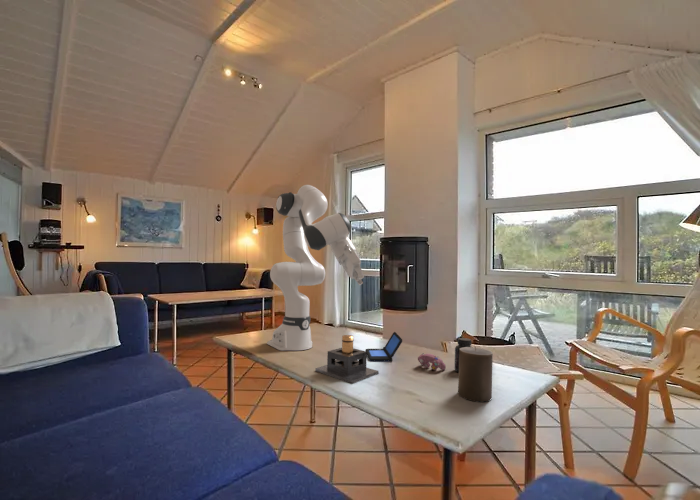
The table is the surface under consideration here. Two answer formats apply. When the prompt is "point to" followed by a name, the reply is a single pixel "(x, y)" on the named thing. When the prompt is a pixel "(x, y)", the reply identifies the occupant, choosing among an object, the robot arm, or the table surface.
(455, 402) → the table surface
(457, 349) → the supplement bottle
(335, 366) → the collar stand
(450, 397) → the table surface
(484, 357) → the pillar candle
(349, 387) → the table surface
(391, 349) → the handheld game console
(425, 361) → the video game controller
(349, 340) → the gold cylindrical bottle
